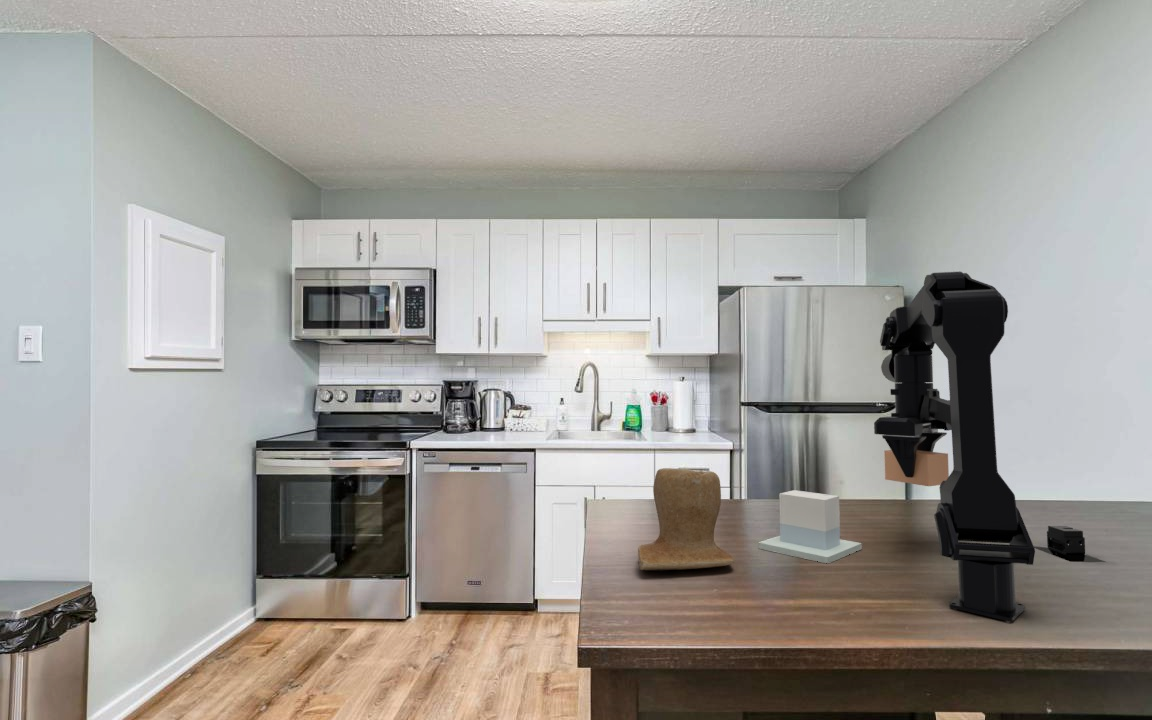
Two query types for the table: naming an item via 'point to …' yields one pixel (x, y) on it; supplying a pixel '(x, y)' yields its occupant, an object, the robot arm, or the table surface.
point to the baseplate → (810, 551)
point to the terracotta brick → (919, 468)
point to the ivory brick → (809, 510)
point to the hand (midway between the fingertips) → (916, 475)
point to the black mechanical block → (1059, 544)
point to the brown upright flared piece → (685, 522)
